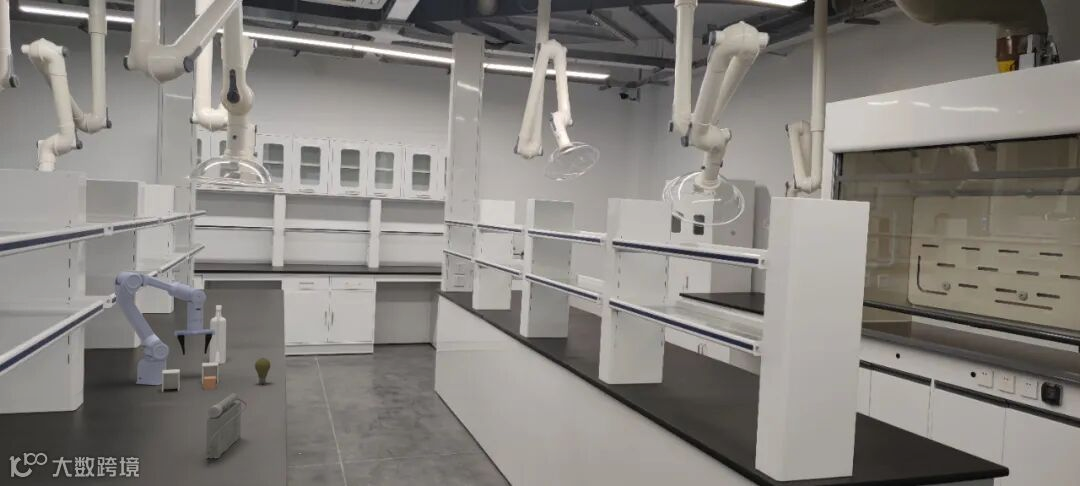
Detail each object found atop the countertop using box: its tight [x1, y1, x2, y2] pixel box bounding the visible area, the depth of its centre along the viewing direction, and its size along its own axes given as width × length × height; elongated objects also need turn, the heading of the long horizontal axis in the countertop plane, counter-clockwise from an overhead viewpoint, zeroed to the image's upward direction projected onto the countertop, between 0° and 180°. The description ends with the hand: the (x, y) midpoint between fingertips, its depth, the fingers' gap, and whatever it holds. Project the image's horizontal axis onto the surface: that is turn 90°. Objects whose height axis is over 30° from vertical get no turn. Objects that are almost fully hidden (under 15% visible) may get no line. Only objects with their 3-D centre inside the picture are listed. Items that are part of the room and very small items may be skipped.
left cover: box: [161, 368, 181, 393], centre depth 274 cm, size 6×6×7 cm
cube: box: [203, 376, 217, 390], centre depth 279 cm, size 4×4×4 cm
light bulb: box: [254, 357, 271, 385], centre depth 288 cm, size 6×6×10 cm
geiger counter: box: [205, 392, 248, 459], centre depth 209 cm, size 14×6×25 cm
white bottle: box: [209, 304, 227, 365], centre depth 323 cm, size 7×12×25 cm, turn 19°
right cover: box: [201, 362, 220, 385], centre depth 288 cm, size 6×6×7 cm
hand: (194, 353), depth 295 cm, fingers open, 7 cm apart
